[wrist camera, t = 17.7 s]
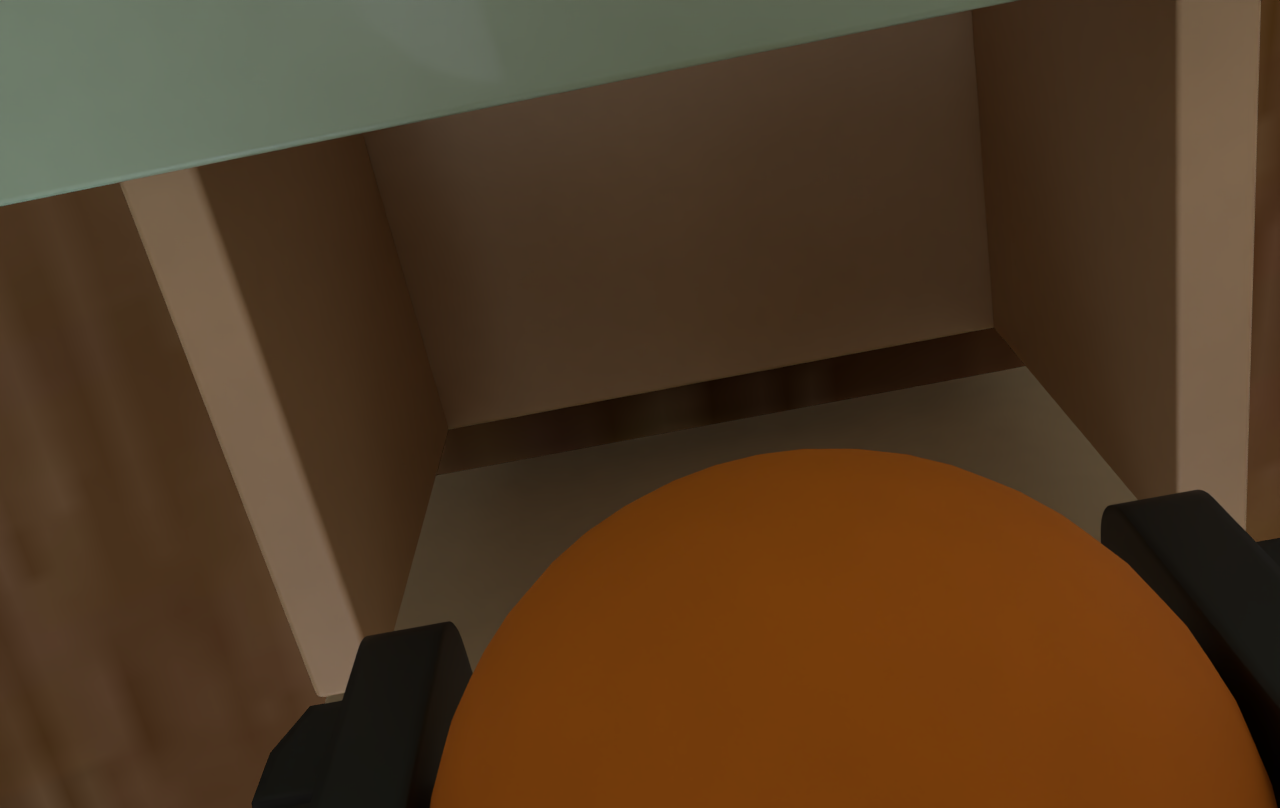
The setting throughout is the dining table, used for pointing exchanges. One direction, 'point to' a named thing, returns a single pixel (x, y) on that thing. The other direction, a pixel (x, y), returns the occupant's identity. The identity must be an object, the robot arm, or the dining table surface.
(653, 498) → the orange
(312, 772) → the robot arm
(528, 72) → the cabinet
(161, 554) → the dining table surface
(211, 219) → the drawer
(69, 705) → the dining table surface
